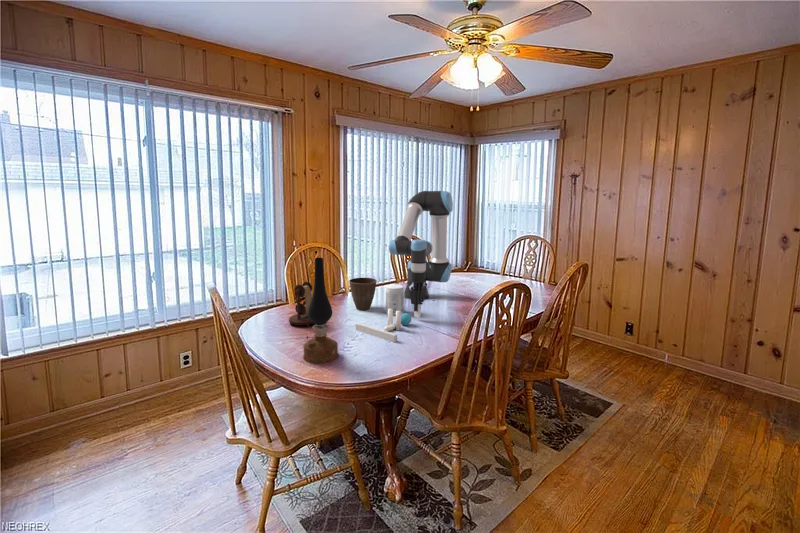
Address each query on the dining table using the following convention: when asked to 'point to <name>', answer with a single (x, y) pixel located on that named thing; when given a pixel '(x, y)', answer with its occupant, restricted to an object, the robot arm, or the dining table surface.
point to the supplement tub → (395, 298)
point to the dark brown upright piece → (302, 305)
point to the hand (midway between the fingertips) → (417, 316)
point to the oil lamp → (320, 322)
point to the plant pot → (363, 292)
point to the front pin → (390, 327)
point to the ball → (405, 319)
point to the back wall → (376, 332)
